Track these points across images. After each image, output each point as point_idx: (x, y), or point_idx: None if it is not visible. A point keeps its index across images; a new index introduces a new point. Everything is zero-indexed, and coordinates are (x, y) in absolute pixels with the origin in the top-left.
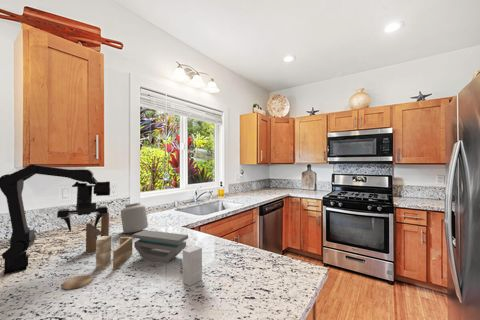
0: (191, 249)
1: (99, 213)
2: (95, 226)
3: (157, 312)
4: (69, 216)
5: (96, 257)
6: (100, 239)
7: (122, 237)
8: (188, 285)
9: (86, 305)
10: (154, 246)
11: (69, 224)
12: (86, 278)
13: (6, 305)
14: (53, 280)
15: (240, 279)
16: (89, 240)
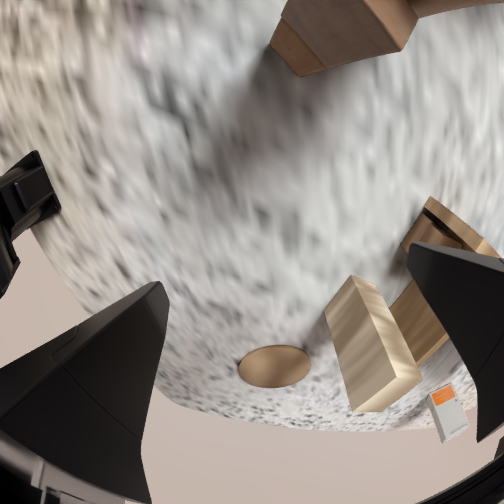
0: (453, 436)
1: (497, 448)
2: (426, 288)
3: (366, 429)
4: (100, 487)
5: (335, 345)
6: (368, 408)
7: (485, 249)
8: (427, 399)
9: (294, 417)
10: None
11: (142, 396)
12: (295, 366)
13: (155, 385)
14: (202, 334)
15: (469, 390)
16: (311, 63)
